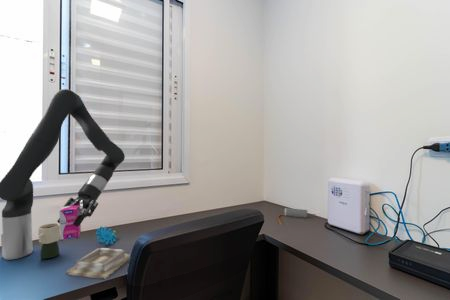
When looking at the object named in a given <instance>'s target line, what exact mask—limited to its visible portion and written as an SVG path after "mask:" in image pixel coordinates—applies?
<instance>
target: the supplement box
mask: <svg viewBox="0 0 450 300" xmlns="http://www.w3.org/2000/svg"><path fill="white" fill-rule="evenodd" d="M58 214H59V218H60V223H59V224H60V239H59V240H60V242H62V241H63V242H64V241H69V240H74V239H79V237H80V235H81V234H82V233H81V232H82V229H81V227H82V226H81V224H82V223H81V224H80V225H79V226H78V227H76V226H74V225H73V223H74V221H75V220H76V218H77V217H78V216H79V215H80V210H79V205H75V206H65V207H63V206H62V207H61V209H60V210H59V213H58Z"/></svg>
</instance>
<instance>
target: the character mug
mask: <svg viewBox="0 0 450 300" xmlns="http://www.w3.org/2000/svg"><path fill="white" fill-rule="evenodd" d="M37 233H38V242H39V244H42V245H41V250H40V259H50V258H55V257H57V256H58V255H60V248H59V247H60V246H59V244H58V243H59V242H58V241H59V240H60V223H58V222H51V223H46V224H43V225H40V226H38V232H37Z"/></svg>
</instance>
